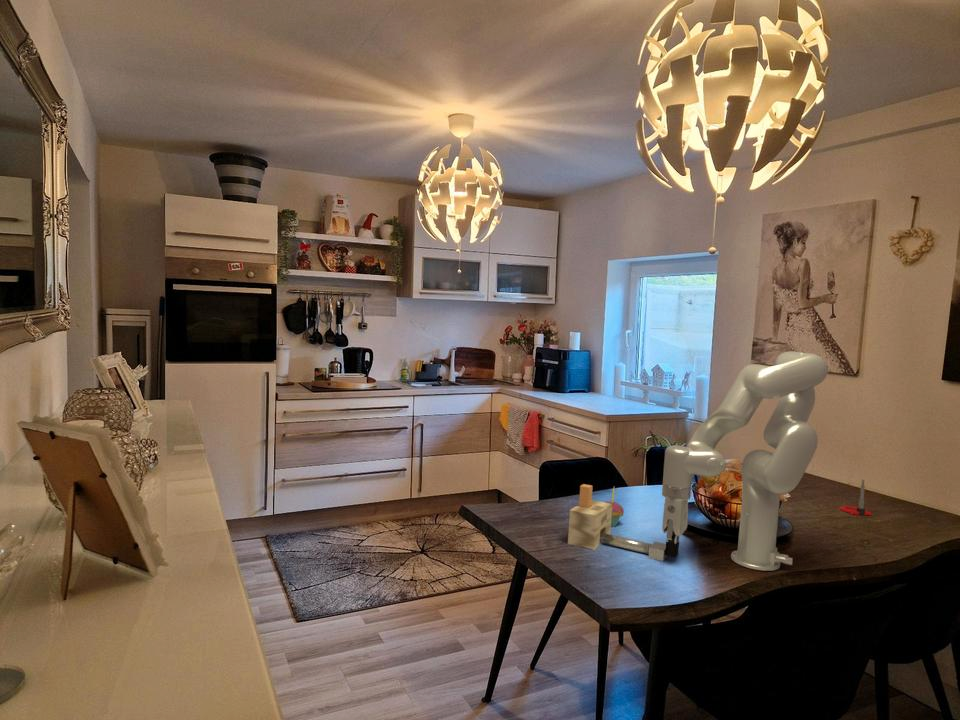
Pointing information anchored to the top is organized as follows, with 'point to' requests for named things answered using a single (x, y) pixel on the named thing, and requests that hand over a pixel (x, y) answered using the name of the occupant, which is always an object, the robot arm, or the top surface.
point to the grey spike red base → (861, 505)
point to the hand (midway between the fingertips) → (671, 555)
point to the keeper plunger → (585, 496)
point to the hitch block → (589, 524)
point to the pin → (637, 546)
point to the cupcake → (615, 510)
